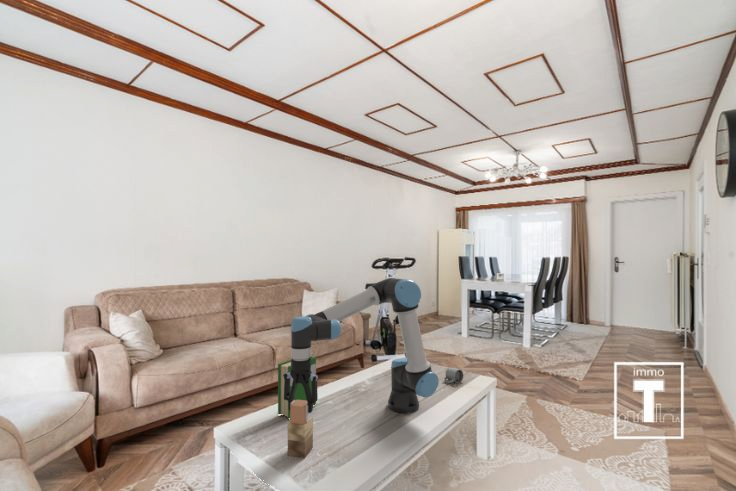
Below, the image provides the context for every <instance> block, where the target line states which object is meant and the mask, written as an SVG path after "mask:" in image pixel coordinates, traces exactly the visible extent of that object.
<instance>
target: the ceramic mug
mask: <svg viewBox="0 0 736 491" xmlns="http://www.w3.org/2000/svg"><path fill="white" fill-rule="evenodd" d="M463 379H464V372H463V370H462V369H460V368H455V367H448V368H446V370H445V377H444V379H443V380H444V381H443V382H444V383H445V384H452V383H456V384H459V383H461V382H462V381H463Z"/></svg>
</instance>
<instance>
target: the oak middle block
mask: <svg viewBox="0 0 736 491" xmlns="http://www.w3.org/2000/svg"><path fill="white" fill-rule="evenodd" d="M313 418H314V417H312V416H310V420H309V421H308V422H306V423H305V424H304V425H302V424H295V423H290V421H288V423H287V441H288V440H293V441H300V442H305V441H306V440H307V439H308V438H309V437H310V436H311V435H312V433H314V427H313V426H314V422H313V421H314V419H313Z"/></svg>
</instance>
